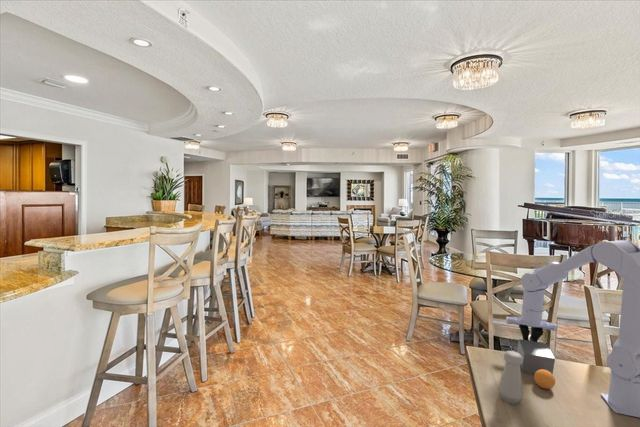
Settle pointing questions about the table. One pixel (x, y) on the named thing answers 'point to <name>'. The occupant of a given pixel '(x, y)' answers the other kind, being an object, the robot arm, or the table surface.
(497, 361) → the table surface
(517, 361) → the salt shaker
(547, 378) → the ball
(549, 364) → the grey block with fin
